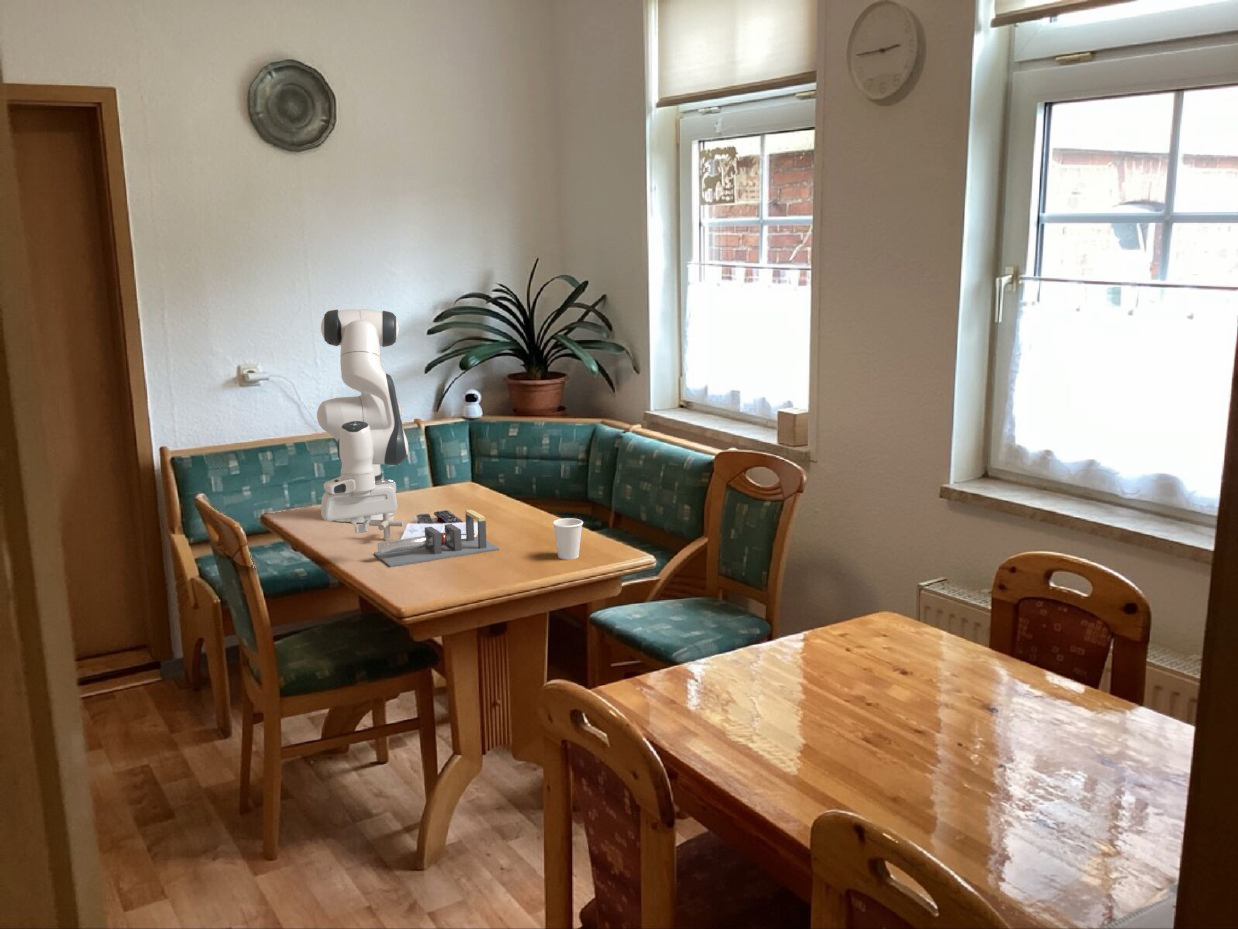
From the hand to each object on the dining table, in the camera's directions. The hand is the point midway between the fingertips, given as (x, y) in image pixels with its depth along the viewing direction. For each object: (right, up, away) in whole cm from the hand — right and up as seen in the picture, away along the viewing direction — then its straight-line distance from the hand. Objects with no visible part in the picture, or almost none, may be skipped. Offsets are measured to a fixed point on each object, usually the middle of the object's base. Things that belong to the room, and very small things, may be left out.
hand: (361, 532), depth 290 cm
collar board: (+18, -6, +13) cm, 23 cm away
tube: (+13, -5, +9) cm, 17 cm away
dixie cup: (+56, -8, +8) cm, 57 cm away
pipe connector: (+1, -4, +26) cm, 26 cm away
